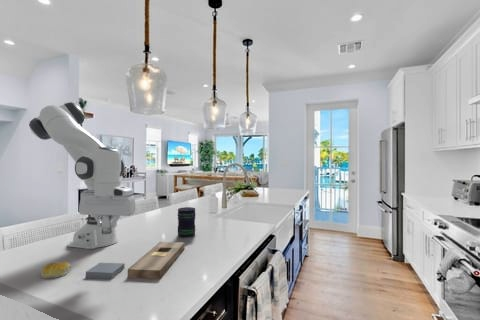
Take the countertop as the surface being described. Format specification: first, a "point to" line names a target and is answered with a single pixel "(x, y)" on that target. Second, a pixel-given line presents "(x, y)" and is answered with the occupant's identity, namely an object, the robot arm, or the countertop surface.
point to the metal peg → (106, 224)
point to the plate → (105, 270)
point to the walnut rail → (156, 260)
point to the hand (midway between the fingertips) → (107, 226)
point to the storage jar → (186, 222)
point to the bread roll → (56, 270)
